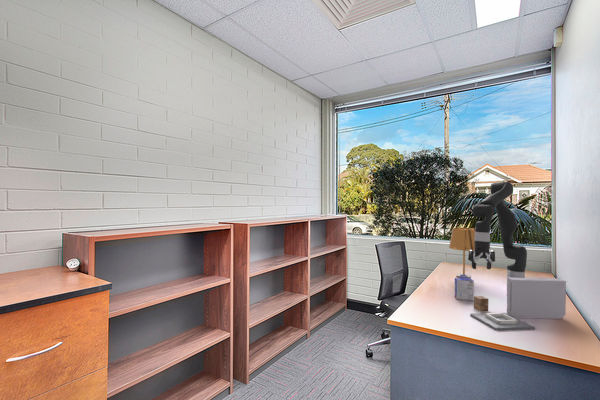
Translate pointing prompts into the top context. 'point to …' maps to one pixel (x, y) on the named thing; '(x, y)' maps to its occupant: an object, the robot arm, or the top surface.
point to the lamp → (462, 243)
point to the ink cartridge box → (464, 288)
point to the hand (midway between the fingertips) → (481, 269)
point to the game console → (536, 297)
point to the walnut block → (481, 303)
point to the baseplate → (502, 321)
